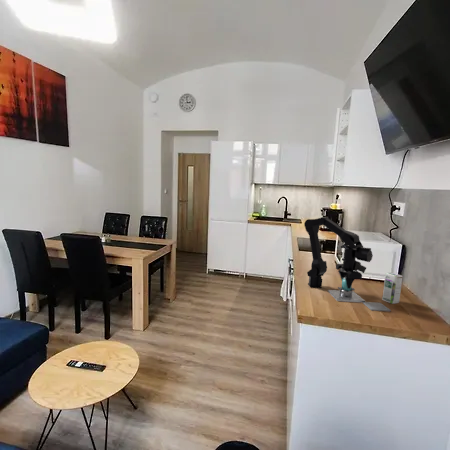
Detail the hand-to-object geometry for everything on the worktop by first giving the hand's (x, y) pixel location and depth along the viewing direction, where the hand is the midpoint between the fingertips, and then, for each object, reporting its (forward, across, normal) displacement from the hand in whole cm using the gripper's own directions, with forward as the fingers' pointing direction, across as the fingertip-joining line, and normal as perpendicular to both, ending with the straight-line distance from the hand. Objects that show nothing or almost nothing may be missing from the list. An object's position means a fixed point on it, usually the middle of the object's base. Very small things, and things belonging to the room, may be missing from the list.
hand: (346, 286), depth 149 cm
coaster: (+6, -12, -10) cm, 17 cm away
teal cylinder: (+1, 0, 0) cm, 1 cm away
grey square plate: (+6, 0, 0) cm, 6 cm away
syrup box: (+6, -3, -22) cm, 23 cm away
